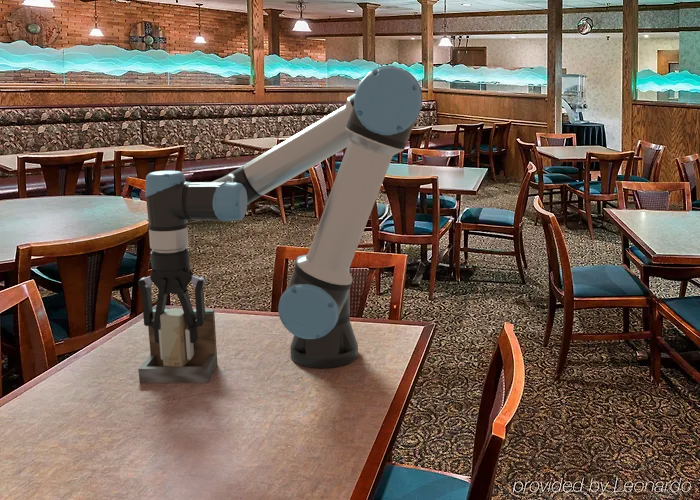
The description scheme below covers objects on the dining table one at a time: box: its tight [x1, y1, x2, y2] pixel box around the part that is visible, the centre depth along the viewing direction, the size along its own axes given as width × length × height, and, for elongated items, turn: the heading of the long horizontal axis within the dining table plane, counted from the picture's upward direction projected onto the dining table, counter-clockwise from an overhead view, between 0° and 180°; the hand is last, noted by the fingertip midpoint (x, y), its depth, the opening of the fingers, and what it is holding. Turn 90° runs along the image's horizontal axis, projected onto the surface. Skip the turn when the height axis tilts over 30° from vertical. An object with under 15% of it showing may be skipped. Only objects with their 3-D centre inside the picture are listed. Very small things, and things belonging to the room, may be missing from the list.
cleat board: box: [137, 308, 218, 384], centre depth 142 cm, size 14×10×13 cm
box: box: [160, 307, 190, 367], centre depth 141 cm, size 5×4×11 cm
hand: (177, 356), depth 142 cm, fingers closed on box, 5 cm apart
